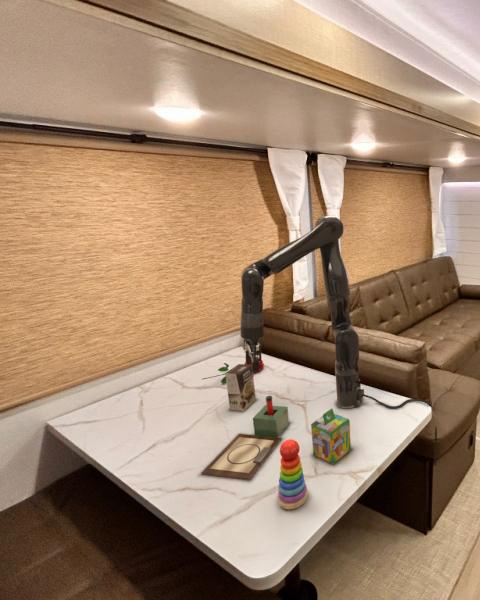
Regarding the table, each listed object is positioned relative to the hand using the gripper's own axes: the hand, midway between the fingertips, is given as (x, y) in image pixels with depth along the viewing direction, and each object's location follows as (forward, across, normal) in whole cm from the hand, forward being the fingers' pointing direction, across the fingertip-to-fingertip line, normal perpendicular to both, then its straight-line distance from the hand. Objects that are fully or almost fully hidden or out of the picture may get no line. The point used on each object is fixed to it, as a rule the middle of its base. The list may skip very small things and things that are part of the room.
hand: (252, 367), depth 134 cm
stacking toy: (+22, -44, +1) cm, 50 cm away
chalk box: (+21, -32, -17) cm, 42 cm away
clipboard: (+23, -17, +7) cm, 30 cm away
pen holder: (+22, -8, -5) cm, 24 cm away
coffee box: (+23, +16, -1) cm, 28 cm away
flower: (+24, +44, -4) cm, 50 cm away
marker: (+22, -8, -5) cm, 24 cm away
